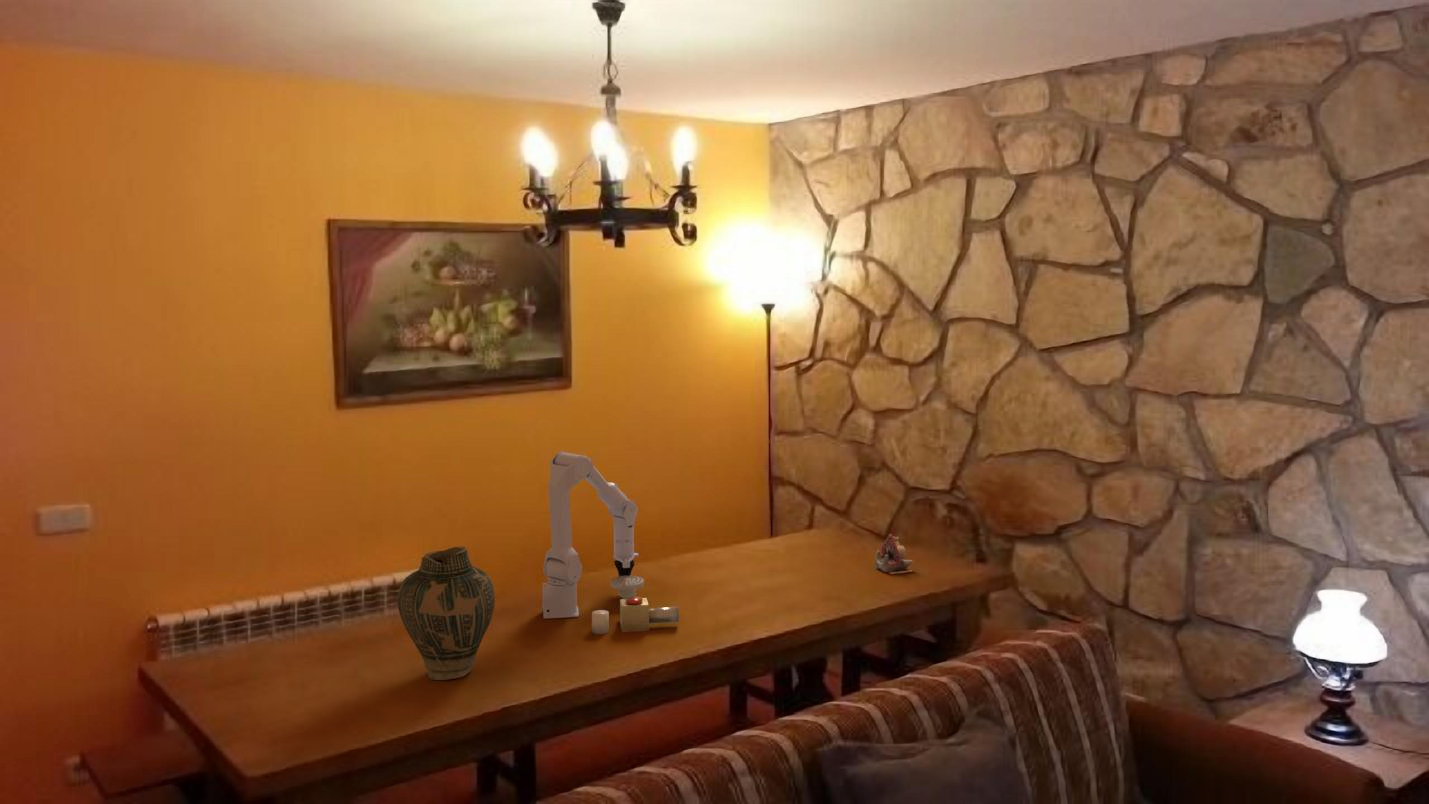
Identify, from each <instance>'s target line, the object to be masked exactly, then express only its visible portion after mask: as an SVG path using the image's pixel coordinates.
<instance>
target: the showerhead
mask: <svg viewBox="0 0 1429 804" xmlns="http://www.w3.org/2000/svg"><path fill="white" fill-rule="evenodd" d="M609 584H610V587H611V588H612V589H615V590H618V596H619V597H620V598H621V599H626V598H628V597H636V595H637V590H638V589H640V588H643V587H644V585H645V579H644V578H643V577H640V576H639V575H638V576H636V575H629V576H626V575H625V576H620V577H619V576H616V577H614V578H611V579H610V581H609Z"/></svg>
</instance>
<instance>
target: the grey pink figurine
mask: <svg viewBox="0 0 1429 804" xmlns="http://www.w3.org/2000/svg"><path fill="white" fill-rule="evenodd" d="M899 539H900V537H899V536H894V535H893V534H892V533H889V534H888V536H887V537H886V538H885V540H884V542H883V544H882V545H881V547H880V550H877V552H876V554H875V555H876V556H875V557H874V558H875V559H874V566H875V567H876V569H877V570H880V571H882V572H884V573H889V574H892V575H894V574H904V573H910V572H913V570H912V569H908V570H906V569H907V568H908V567H910V565H913V564H914V560H912V559H907V550H906V548H905V547H904V545H901V544H900V542H899Z"/></svg>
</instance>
